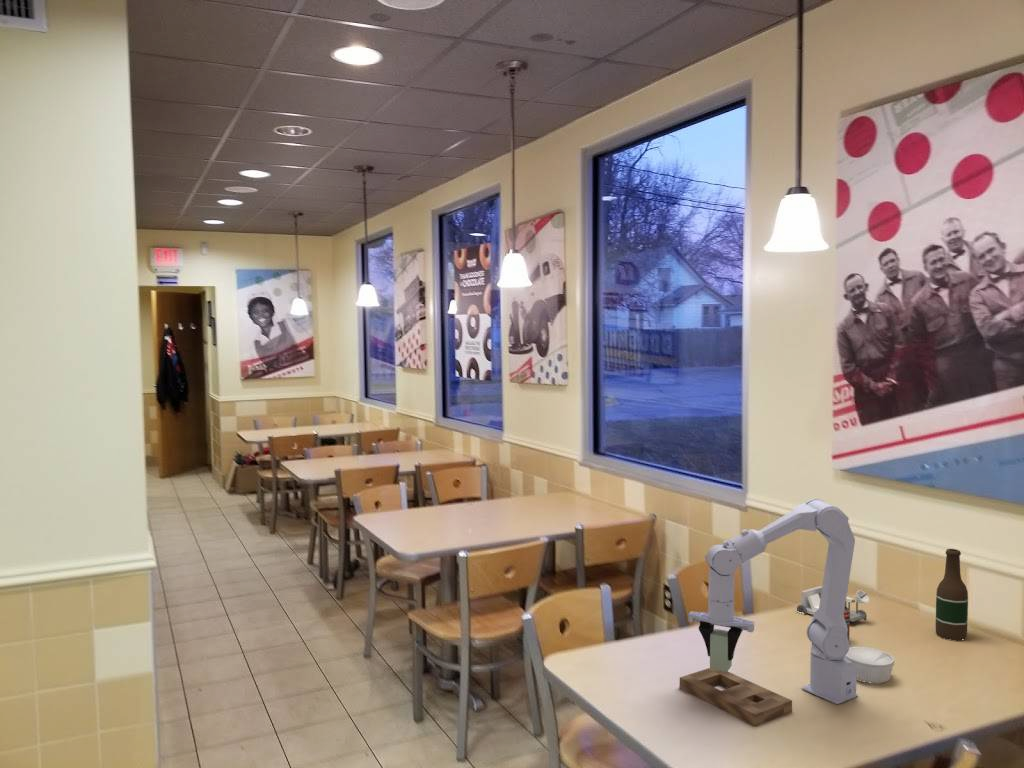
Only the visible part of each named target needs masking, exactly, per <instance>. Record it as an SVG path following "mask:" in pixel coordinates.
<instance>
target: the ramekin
mask: <svg viewBox="0 0 1024 768" xmlns="http://www.w3.org/2000/svg"><path fill="white" fill-rule="evenodd" d="M845 657H846V659H847V660H849V661H850V662H852V663H854V665H855V667H856V672H857V673H856V679H858V680H861V681H865V682H871V683H881V684H884V683H883V682H885V683H887V682H888V681H889V680H890V679H891V676H892V671H893V667H894V666H895V658H894V656H892V655H891V654H890V653H888V652H885V651H884V650H881V649H877V648H873V647H868V646H850V647H849V651H848V653H847V654H846V655H845ZM858 680H857V681H858ZM861 681H860V682H861ZM886 681H887V682H886ZM865 682H864V683H865ZM871 683H870V684H871Z"/></svg>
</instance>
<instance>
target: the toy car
mask: <svg viewBox="0 0 1024 768" xmlns="http://www.w3.org/2000/svg"><path fill="white" fill-rule="evenodd" d="M821 592H822V585H820V586H816V587H812V588H808V589H804V590H801V594H800V595H801V599H800V604H799V605H797V606H796V612H797V611H799V612H803V613H804V614H805V615H806V614H810V615H812V616H813V614H814V612H816V611H817V610H818V609H819V605H820V598H821ZM869 602H870V598H869V596H868V595H867V592H865V591H863V590H861V589H859V590H857V591H856V593H855V599H854V598H851V597H848V596H847V597H846V603H847V606H848V607H847V608H848V609H849V610H850V609H851V604H852V603H856V604H855V608H856V609H855V610H850V622H856V621H859V620H862V619H865V620H866V619H867V612H866V611H865V610H863V609H859V607H858V605H859V603H860V604H867V603H869Z"/></svg>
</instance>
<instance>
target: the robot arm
mask: <svg viewBox="0 0 1024 768" xmlns="http://www.w3.org/2000/svg"><path fill="white" fill-rule="evenodd" d="M849 519H850V518H849V517H848V515H846V514H845V513H844V511H842V510H841V509H840V508H839V507H837V506H834V505H831V504H829V503H827V502H825V500H823V499H820V498H812V499H809V500H808V501H806V502H803V503H800V504H798V505H797V506H796V507H795V508H794V509H792V510H790V511H789V512H787V513H786V514H784V515H783V516H781V517H779V518H777V519H776V520H775V521H773V522H771V523H769V524H767V525H766V526H764V527H763V528H761V529H759V530H757V529H753V528H750V529H746V528H745V529H743V530H741V531H740V532H741V534H739V535H737V536H735V537H733V538H731V539H729V540H727V539H725V540H724V541H723V542H722V544H714V545H711V547H709V550H708V551H707V553H706V555H705V556H704V557H705V561H706V563H707V565H708V566H709V567H708V588H707V589H708V597H707V598H708V599H707V600H708V601H707V603H708V609H707V611H708V612H702V611H690V612H689V613H688V622H689V623H695V622H696V623H699V626H698V631H699V632H700V634H701V636H702V638H703V641H704V645H705V648H706V651H707V653H706V654H707V656H708V657H710V634H711V632H712V631H713V630H714V629H715V626H717V627H718V626H719V627H724V628H729V629H728V630H727V631H728V632H727V634H728V645H729V648H728V660H730V661H731V660H732V661H733V659H734V655H735V650H736V646H737V644H738V641H739V638H740V636H741V634H742V632H743V631H747V632H748V633H754V630H755V621H752V620H748V619H744V618H741V617H738V616H735V572H736V571H737V570H738V569H739V565H742V564H744V563H745V562H747V561H749V560H752V559H753V558H755V557H756V556H759V555H760V554H762V553H764V552H765V551H766V548H767V545H768V544H770V543H773V542H775V541H776V540H778V539H780V538H782V537H785V536H787V535H790V534H791V533H793V532H796V531H798V530H804V531H811V532H817V531H819V533H821V535H822V536H823V538H824V539H825V540H826V541H827V542H828V547H827V554H826V559H825V566H824V572H823V578H822V580H823V581H822V585H821V586H822V592H821V598H820V605H819V609H818V610H817V611H816V612H814V614H813V615H812V620H811V621H810V623H808V625H807V628H806V636H807V638H808V640H809V641H810V642H811V647H810V667H809V668H810V671H809V673H810V674H809V675H810V677H809V679H810V680H809V682H810V683H809V684H805V685H804V686H801V689H802V690H804V691H806V692H808V693H810V694H813V695H816V696H817V697H818V698H821V699H824V700H827V701H829V702H830V703H834V704H836V705H839V704H841V703H844V702H846V701H849V700H851V699H854V698H856V696H857V697H858V696H859V693H857V680H856V673H857V672H856V667H855V665H854V663H852V662H850V661H849V660H847V659H846V657H845V655H846V654H847V653H848V651H849V647H851V646H850V639H849V640H848V637H847V632H848V628H847V625H846V622H845V619H844V610H845V603H846V604H847V601H846V597H848V588H849V584H850V578H851V577H850V575H851V571H852V565H853V564H852V563H853V556H854V551H855V545H856V543H855V542H856V540H855V539H856V538H855V535H854V533H853V531H852V528H851V525H850V522H849V521H850V520H849Z"/></svg>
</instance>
